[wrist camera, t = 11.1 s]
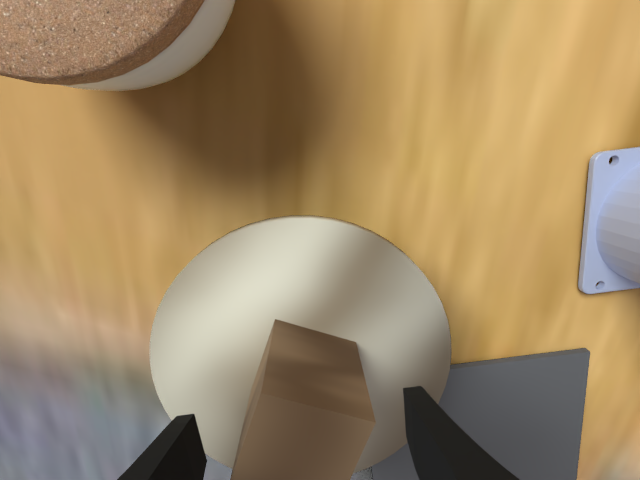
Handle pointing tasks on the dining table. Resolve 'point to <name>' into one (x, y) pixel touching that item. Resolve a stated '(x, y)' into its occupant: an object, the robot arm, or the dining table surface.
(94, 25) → the lidded jar
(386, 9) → the dining table surface
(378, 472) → the mat
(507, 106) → the dining table surface
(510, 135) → the dining table surface
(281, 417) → the lid
